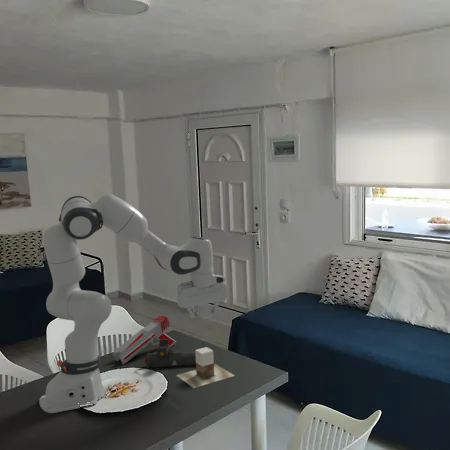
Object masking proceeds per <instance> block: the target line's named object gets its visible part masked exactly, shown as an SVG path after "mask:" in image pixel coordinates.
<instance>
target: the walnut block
mask: <svg viewBox="0 0 450 450" xmlns="http://www.w3.org/2000/svg"><path fill="white" fill-rule="evenodd" d="M214 365H215V363H213V364H210V365H206V366H201V365H199V364H198V363H196V365H195V368H196V369H195V370H196V374H197V375H198V376H199V377H201V378H202V379H205V378H209V377H212V376H214Z"/></svg>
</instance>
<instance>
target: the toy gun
mask: <svg viewBox="0 0 450 450" xmlns="http://www.w3.org/2000/svg"><path fill="white" fill-rule="evenodd" d="M151 320H152V321H150V322H149V323H148V324H147V325H146V326H144V327H142V329H140V330H139V331H138V332H136V333H135V334H133V336H131V337H130V338H129V339H127V340H126V341H125V342H124V343H122V344H121V345H120V346H119V347H117V348H116V349H114V350H113V351H112V356H113V358H114V360H115V361H116V362H119V361H121V363H122V365H125V364H126V363H128V361H130V360H131V359H133V357H135V355H137V354H138V353H140V351H142V350H143V349H144V348H146V347H147V346H148V345H149V344H150V345H153V346H155V345H159V340H165V339H169V348H170V347H173V346H174V345H175V344H176V343H177V340H175V339H173V338H172V337H171V336H170V335H168V334H166V333H165V332H164V331H166V330H167V329H168V328H170V325H171V323H170V321H169V319H168V317H167V316H164V315H159V316H158V317H155V318H152V319H151ZM154 339H155V341H154Z"/></svg>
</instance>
